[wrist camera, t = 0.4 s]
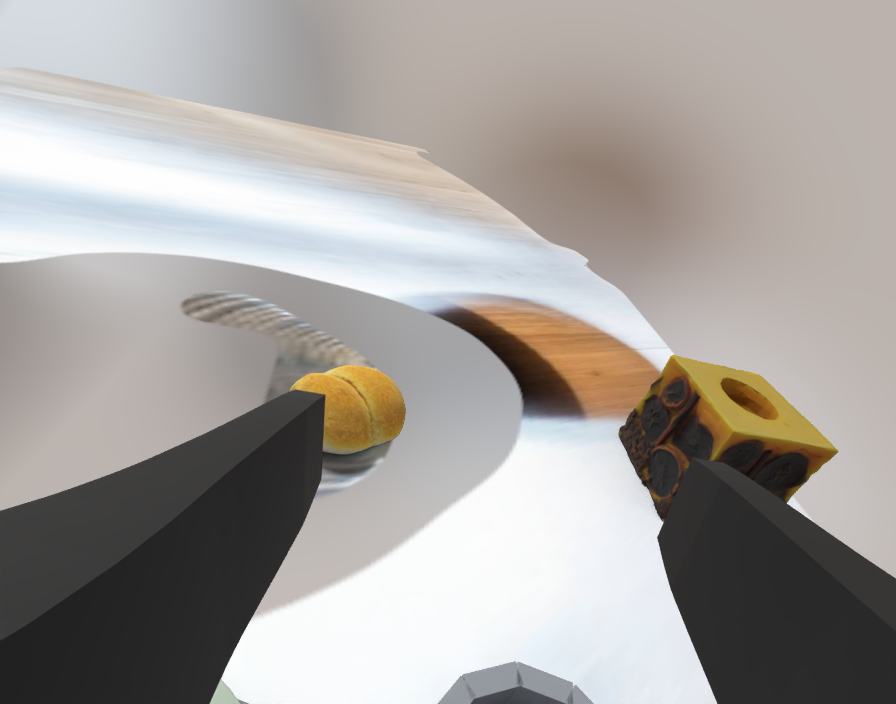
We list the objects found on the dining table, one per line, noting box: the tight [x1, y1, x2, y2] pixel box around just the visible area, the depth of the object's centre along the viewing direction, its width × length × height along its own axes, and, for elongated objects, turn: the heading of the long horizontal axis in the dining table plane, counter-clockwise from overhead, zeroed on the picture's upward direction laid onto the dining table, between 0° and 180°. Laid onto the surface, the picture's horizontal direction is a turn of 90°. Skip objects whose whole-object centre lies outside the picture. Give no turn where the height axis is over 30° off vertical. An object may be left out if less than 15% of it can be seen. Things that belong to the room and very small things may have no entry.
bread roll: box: [290, 365, 406, 455], centre depth 36 cm, size 8×9×4 cm
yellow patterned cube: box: [618, 355, 838, 519], centre depth 40 cm, size 10×10×10 cm
